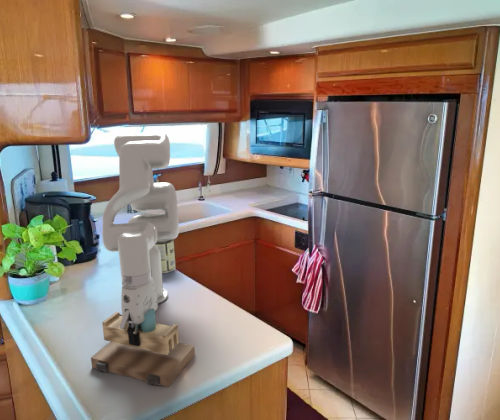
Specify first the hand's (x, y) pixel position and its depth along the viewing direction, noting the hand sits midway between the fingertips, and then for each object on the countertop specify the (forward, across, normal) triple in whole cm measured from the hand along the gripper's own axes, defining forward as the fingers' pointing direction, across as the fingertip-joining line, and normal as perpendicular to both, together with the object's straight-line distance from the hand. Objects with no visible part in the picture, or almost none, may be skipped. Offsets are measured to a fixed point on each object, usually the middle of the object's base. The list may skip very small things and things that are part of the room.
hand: (142, 337), depth 111 cm
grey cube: (-3, 0, +2) cm, 4 cm away
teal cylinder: (-3, 0, -2) cm, 4 cm away
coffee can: (+7, +58, +30) cm, 66 cm away
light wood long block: (+1, 0, 0) cm, 1 cm away
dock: (+7, 0, 0) cm, 7 cm away
